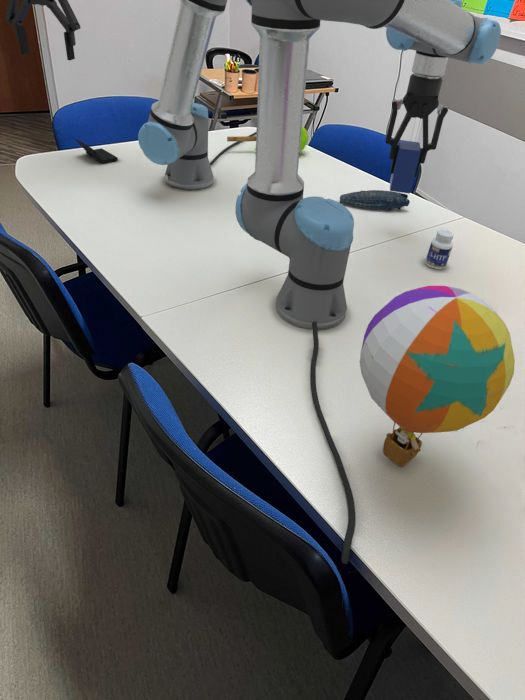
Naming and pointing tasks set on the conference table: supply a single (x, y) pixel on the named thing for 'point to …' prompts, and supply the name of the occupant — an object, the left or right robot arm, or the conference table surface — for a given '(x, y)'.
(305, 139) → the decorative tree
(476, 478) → the conference table surface
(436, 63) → the right robot arm
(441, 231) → the pill bottle
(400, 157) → the brick
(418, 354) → the toy
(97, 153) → the black handled piece
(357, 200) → the fish model
